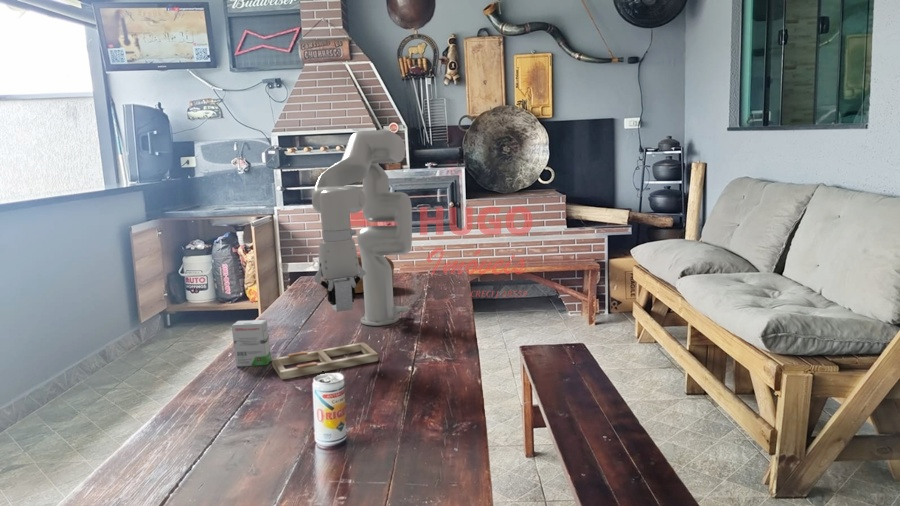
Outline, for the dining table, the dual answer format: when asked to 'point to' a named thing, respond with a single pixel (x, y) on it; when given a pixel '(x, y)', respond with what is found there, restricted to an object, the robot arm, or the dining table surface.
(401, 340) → the dining table surface
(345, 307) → the grey rectangular block
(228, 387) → the dining table surface
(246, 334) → the ink box
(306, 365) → the wooden frame
